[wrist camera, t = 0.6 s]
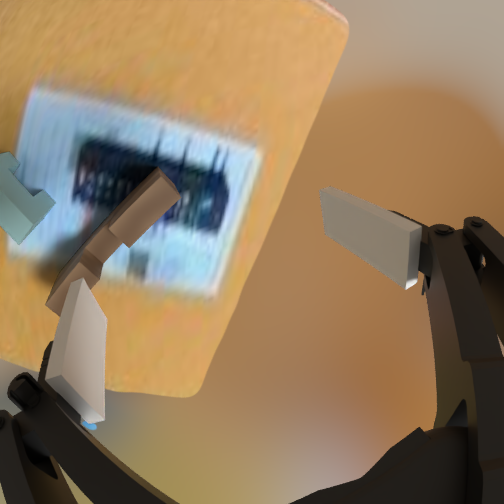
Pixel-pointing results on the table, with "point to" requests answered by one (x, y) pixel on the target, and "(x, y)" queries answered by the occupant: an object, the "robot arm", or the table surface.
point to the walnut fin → (115, 234)
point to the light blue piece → (19, 202)
